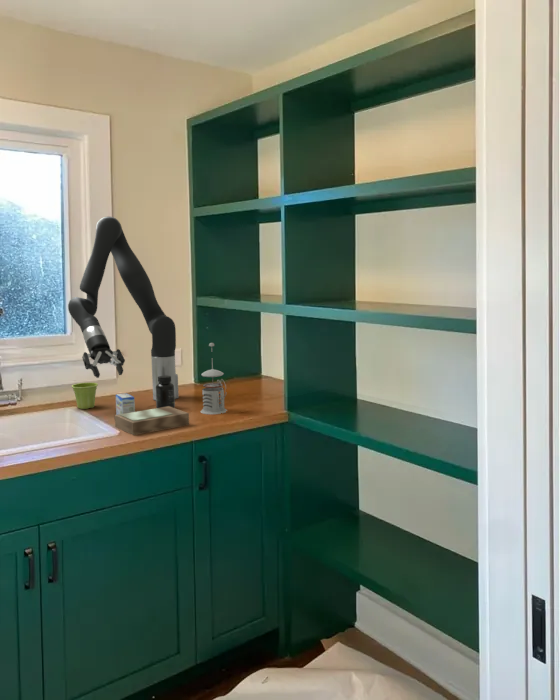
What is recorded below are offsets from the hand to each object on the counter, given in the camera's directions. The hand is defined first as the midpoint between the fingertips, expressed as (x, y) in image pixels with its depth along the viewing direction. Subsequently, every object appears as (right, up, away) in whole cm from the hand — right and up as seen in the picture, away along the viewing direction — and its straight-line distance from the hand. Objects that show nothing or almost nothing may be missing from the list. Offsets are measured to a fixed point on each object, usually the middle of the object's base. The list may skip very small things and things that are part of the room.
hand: (109, 375), depth 235 cm
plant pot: (-13, -13, +14) cm, 23 cm away
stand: (+18, -16, -17) cm, 30 cm away
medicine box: (+7, -15, -7) cm, 19 cm away
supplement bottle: (+18, -13, +10) cm, 24 cm away
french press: (+37, -14, +3) cm, 40 cm away
